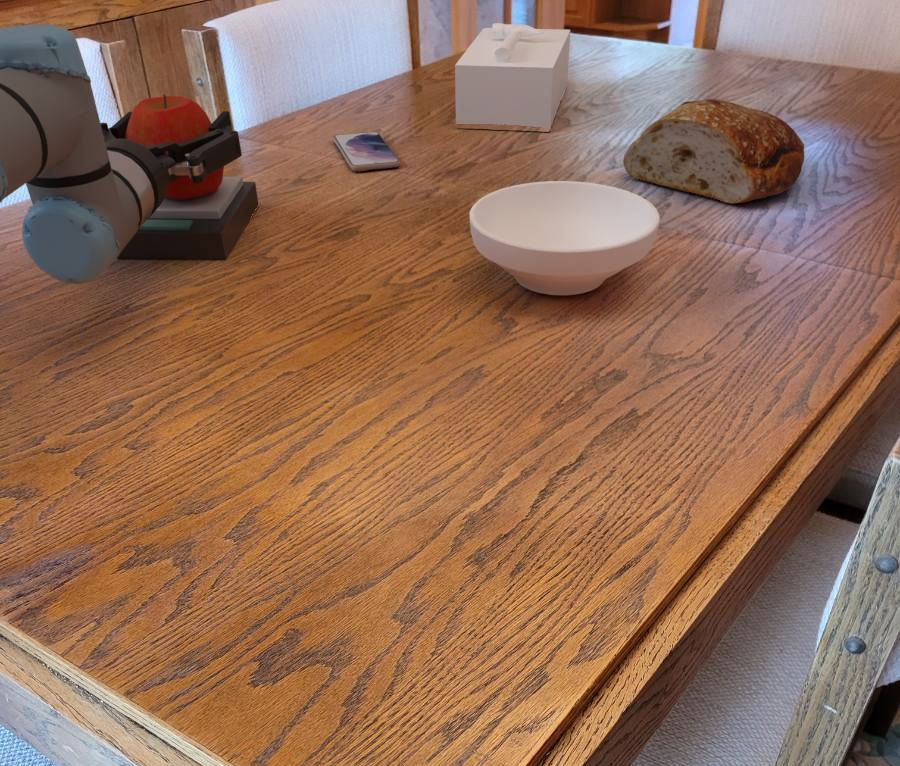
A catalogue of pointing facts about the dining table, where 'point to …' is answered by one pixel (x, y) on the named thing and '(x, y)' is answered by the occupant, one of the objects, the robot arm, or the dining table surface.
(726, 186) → the bread
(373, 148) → the smartphone
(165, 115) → the apple
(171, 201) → the scale
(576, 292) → the bowl
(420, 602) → the dining table surface
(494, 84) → the tissue box
